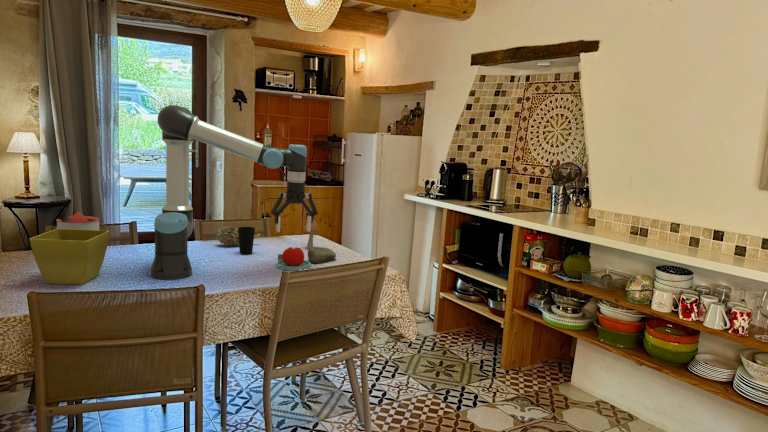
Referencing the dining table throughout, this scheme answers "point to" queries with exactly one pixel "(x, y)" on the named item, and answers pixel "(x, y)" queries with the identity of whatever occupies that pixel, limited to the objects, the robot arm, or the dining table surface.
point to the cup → (246, 240)
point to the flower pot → (70, 254)
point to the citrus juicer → (79, 222)
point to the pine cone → (229, 236)
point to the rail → (279, 257)
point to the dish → (283, 266)
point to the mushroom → (311, 233)
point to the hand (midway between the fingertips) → (293, 231)
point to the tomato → (293, 256)
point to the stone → (320, 254)
